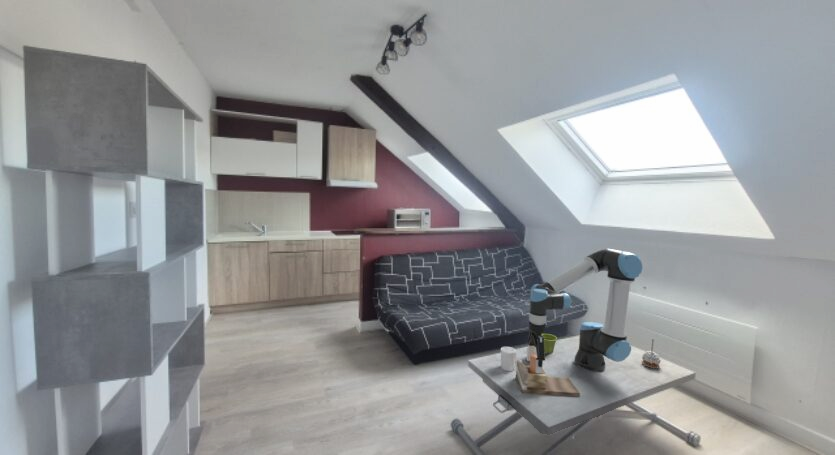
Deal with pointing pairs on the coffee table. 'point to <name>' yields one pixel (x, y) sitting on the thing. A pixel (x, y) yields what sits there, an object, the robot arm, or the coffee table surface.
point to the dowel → (533, 364)
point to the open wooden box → (536, 379)
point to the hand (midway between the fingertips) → (534, 365)
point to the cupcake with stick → (651, 358)
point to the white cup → (508, 358)
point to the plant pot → (549, 342)
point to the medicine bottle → (534, 352)
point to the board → (552, 386)
